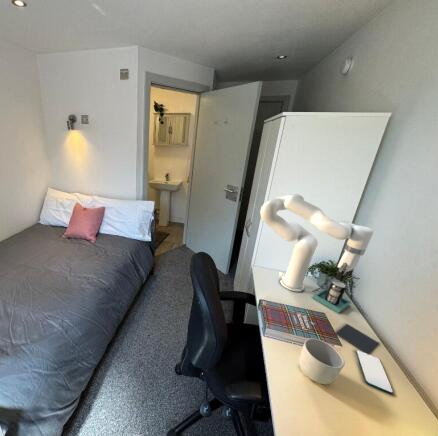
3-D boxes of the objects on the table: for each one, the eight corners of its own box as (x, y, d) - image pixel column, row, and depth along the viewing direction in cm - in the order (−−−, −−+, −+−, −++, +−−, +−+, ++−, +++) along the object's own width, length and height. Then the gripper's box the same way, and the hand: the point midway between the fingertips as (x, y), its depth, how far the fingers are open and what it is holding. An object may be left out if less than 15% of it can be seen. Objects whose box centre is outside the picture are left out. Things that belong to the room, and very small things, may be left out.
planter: (314, 355, 96) (323, 336, 92) (342, 386, 85) (353, 366, 81) (289, 358, 94) (296, 339, 90) (313, 390, 83) (323, 370, 79)
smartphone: (393, 395, 83) (378, 359, 96) (394, 393, 83) (379, 358, 96) (365, 383, 87) (354, 350, 100) (366, 381, 86) (355, 349, 99)
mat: (335, 333, 108) (335, 332, 108) (346, 324, 114) (347, 323, 114) (367, 354, 98) (368, 353, 98) (378, 343, 104) (378, 342, 104)
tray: (313, 298, 131) (314, 294, 130) (324, 291, 137) (325, 288, 136) (338, 313, 121) (340, 309, 120) (349, 305, 127) (350, 302, 126)
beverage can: (333, 298, 132) (341, 280, 127) (341, 306, 126) (349, 288, 121) (321, 296, 132) (328, 279, 128) (328, 304, 126) (336, 287, 122)
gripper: (353, 243, 124) (341, 270, 130) (338, 249, 116) (327, 278, 122) (370, 249, 118) (358, 277, 124) (356, 256, 109) (343, 286, 116)
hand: (342, 277), depth 123 cm, fingers open, 9 cm apart
